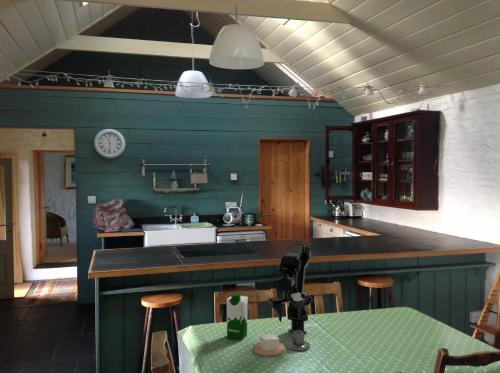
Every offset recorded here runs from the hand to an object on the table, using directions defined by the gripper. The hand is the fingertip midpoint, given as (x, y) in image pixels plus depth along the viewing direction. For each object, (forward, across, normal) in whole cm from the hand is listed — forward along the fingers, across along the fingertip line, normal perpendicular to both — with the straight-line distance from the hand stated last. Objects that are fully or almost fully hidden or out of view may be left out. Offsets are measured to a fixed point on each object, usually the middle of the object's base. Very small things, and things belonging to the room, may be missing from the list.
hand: (290, 320), depth 187 cm
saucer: (+11, -10, -1) cm, 15 cm away
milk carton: (+12, -18, +17) cm, 27 cm away
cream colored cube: (+10, -10, -1) cm, 14 cm away
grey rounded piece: (+11, +3, -2) cm, 12 cm away
